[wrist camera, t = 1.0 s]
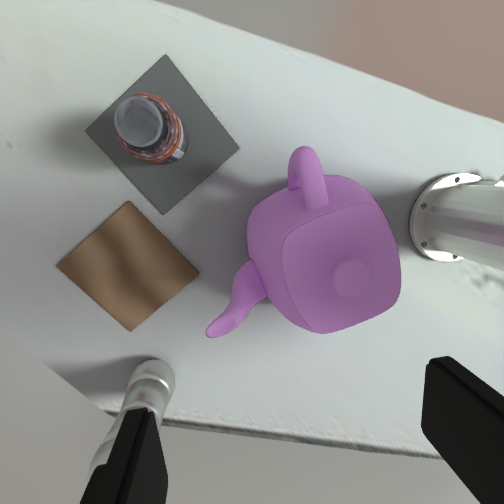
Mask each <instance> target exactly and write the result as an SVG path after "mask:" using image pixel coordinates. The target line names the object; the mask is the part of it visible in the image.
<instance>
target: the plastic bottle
mask: <svg viewBox="0 0 504 504" xmlns="http://www.w3.org/2000/svg"><path fill="white" fill-rule="evenodd" d="M174 389H175V374H174V372H173V370H172V368H171V367H170V366H169V365H168V364H167V363H166V362H164V361H161V360H157V359H153V360H148V361H145V362H143V363H141V364H140V365H138V366H137V368H136V369H135V370H134V371H133V373H132V374H131V376H130V378H129V381H128V385H127V389H126V395H125V398H124V401H123V404H122V407H121V410H120V412H119V414H118V416H117V418H116V420H115V422H114V424H113V426H112V427H111V429H110V431H109V432H108V434H107V436H106V437H105V439H104V440H103V442H102V443H101V445H100V447H99V448H98V450H97V451H96V453H95V455H94V457H93V459H92V461H91V463H90V467H89V472H88V478H87V479H88V482H89V480H90V477H91V475H92V473H93V471H94V469H95V468H96V467H97V466H98V465H102V464H106V463H107V460H108V457H109V455H110V452H111V450H112V447H113V444H114V442H115V439H116V436H117V434H118V431H119V429H120V426H121V423H122V421H123V418H124V416H125V413H126V411H128V410H132V409H138V408H144V407H147V409H148V412H150V411H153V412H154V415H155V419H156V424H157V428H158V433H159V432H160V427H161V422H162V419H163V416H164V413H165V410H166V407H167V405H168V403H169V401H170V399H171V397H172V394H173V392H174Z"/></svg>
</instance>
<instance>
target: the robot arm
mask: <svg viewBox="0 0 504 504" xmlns="http://www.w3.org/2000/svg"><path fill="white" fill-rule="evenodd" d="M410 235H411V238H412V241H413V243H414V245H415V246H416V248H417V249H418V250H419V251H420V252H421V253H422V254H423V255H425V256H426V257H429V258H431V259H433V260H437V261H441V262H453V261H458V260H461V259H463V258H465V259H468V260H471V261H474V262H477V263H481V264H484V265H487V266H490V267H493V268H496V269H499V270H502V271H504V175H503V176H502V177H501V178H500V179H499V180H497V181H485V180H484V179H483V178H481V177H479V176H477V175H474V174H469V173H456V174H449V175H446V176H443V177H441V178H439V179H437V180H436V181H434V182H433V183H431V184H430V185H429V186H428V187H427V188H426V189H425V190H424V191H423V192H422V193H421V194H420V196H419V197H418V199H417V200H416V202H415V205H414V207H413V209H412V213H411V217H410ZM421 428H422V431H423V433H424V435H425V436H426V438H427V439H428V440H429V442H430V443H431V444H432V445H433V446H434V448H435V449H436V450H437V451H438V452H439V454H440V455H441V456H442V457H443V459H444V460H445V461H446V462H447V463H448V464H449V466H450V467H451V468H452V469H453V471H454V472H455V473H456V474H457V476H458V477H459V478H460V479H461V480H462V482H463V483H464V484H465V485H466V487H467V488H468V489H469V490H470V491H471V492H472V494H473V495H474V496H475V498H477V500H478V501H479V502H480V504H504V396H502V395H501V394H500V393H498V392H497V391H496V390H494V389H493V388H492V387H490V386H489V385H488V384H486V383H485V382H484V381H482V380H481V379H480V378H478V377H477V376H476V375H474V374H473V373H472V372H470V371H469V370H468V369H466V368H465V367H464V366H462V365H461V364H460V363H458V362H457V361H456V360H454V359H453V358H451V357H449V356H444V357H439V358H433V359H431V360H430V361H429V364H427V365H426V372H425V384H424V395H423V407H422V419H421ZM167 488H168V474H167V469H166V465H165V460H164V456H163V451H162V447H161V442H160V437H159V433H158V428H157V424H156V419H155V415H154V412H153V411H150V412H148V409H147V407H144V408H138V409H132V410H128V411H126V413H125V416H124V418H123V421H122V423H121V426H120V429H119V431H118V434H117V436H116V439H115V442H114V444H113V447H112V450H111V452H110V455H109V457H108V460H107V463H106V464H102V465H98V466H97V467H96V468H95V469H94V471H93V473H92V475H91V477H90V480H89V482H88V485H87V487H86V489H85V492H84V495H83V497H82V499H81V501H80V504H165V502H166V496H167Z"/></svg>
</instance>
